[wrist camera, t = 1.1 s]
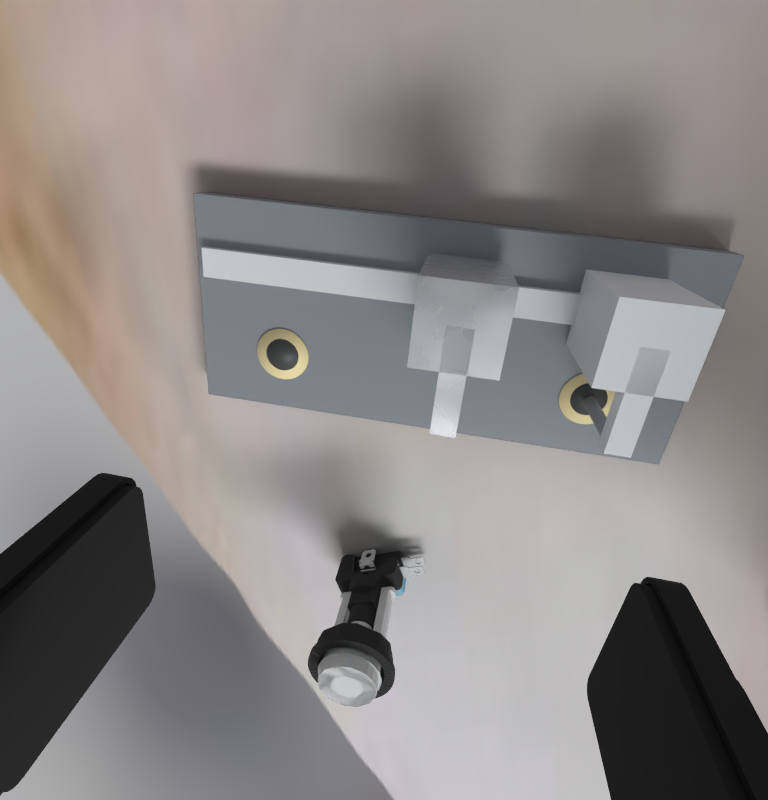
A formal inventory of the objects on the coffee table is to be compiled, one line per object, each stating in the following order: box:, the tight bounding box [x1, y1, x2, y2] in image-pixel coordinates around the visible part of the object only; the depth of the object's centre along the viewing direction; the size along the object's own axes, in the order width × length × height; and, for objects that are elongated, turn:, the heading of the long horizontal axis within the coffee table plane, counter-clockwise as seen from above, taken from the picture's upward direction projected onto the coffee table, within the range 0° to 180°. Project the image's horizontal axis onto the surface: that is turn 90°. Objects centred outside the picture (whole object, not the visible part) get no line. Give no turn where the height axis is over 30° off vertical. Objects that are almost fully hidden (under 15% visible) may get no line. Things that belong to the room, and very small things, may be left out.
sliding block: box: [407, 253, 519, 438], centre depth 24 cm, size 4×7×6 cm, turn 175°
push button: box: [308, 549, 426, 707], centre depth 33 cm, size 7×5×10 cm
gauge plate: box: [193, 192, 744, 464], centre depth 25 cm, size 28×12×8 cm, turn 85°
